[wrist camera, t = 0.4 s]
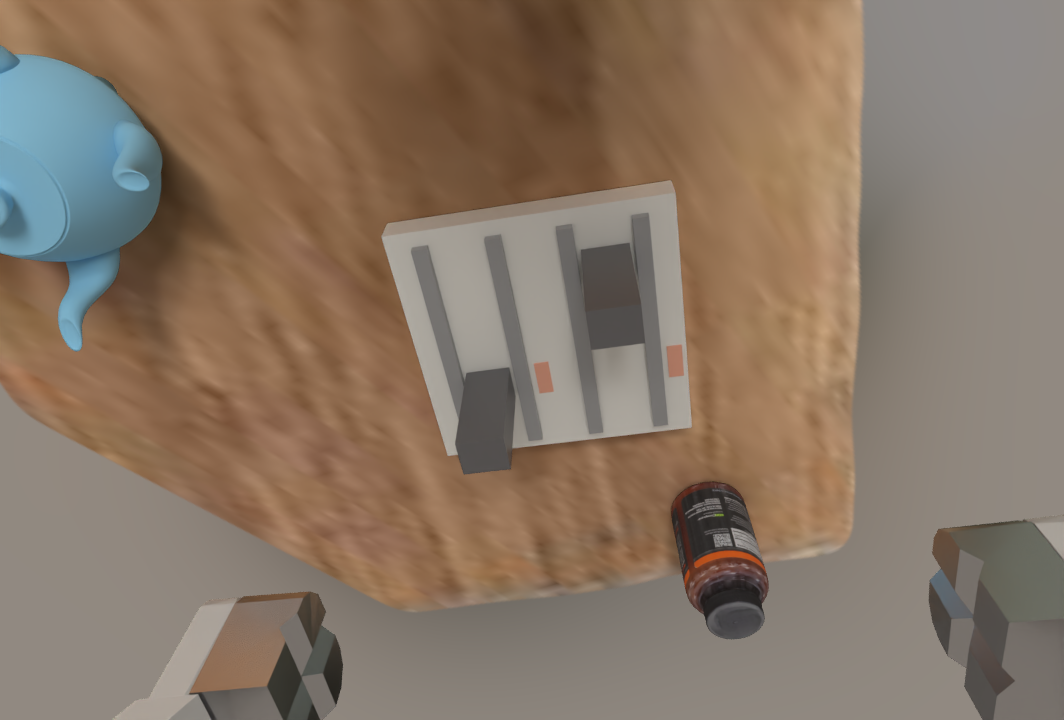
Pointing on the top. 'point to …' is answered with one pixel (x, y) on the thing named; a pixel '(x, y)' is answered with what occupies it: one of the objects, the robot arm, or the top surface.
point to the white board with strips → (546, 312)
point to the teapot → (72, 176)
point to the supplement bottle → (720, 559)
